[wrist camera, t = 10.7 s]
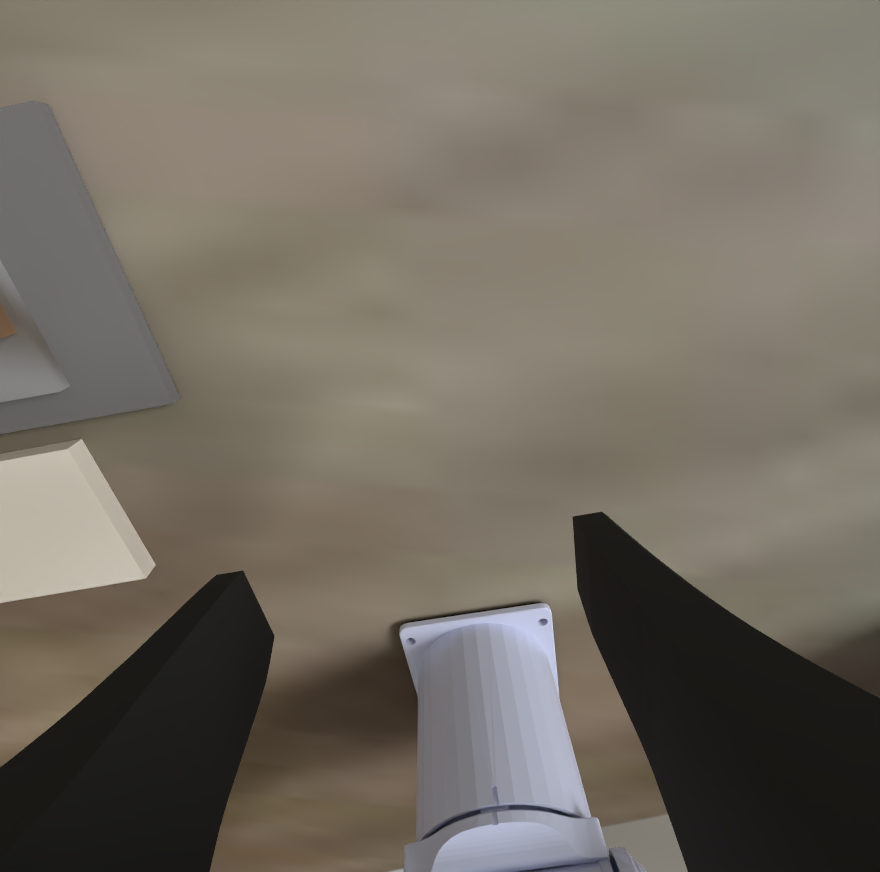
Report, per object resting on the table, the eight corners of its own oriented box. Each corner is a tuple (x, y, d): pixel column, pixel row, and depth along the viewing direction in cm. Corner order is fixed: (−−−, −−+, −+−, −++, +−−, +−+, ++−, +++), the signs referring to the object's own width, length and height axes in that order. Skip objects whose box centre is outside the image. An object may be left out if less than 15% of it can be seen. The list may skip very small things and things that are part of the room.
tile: (145, 578, 22) (-34, 608, 23) (160, 558, 24) (-10, 587, 24) (67, 449, 19) (-139, 486, 20) (89, 433, 20) (-105, 469, 21)
